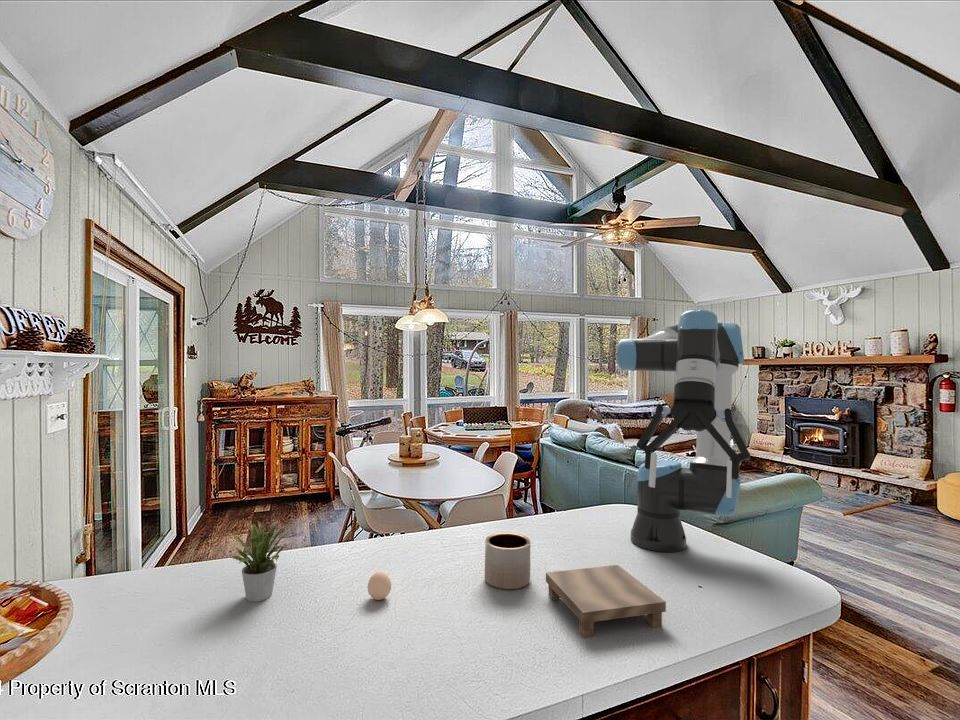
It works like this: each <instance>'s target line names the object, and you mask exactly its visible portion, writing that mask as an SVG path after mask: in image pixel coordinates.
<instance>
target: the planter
mask: <svg viewBox="0 0 960 720" xmlns="http://www.w3.org/2000/svg"><path fill="white" fill-rule="evenodd" d="M484 543H485V545H484V546H485V547H484V552H485V553H484V580H485V582H486V584H488V585H490V586H492V587H493V588H496V589H500V590H504V589H505V590H504V591H507V590H509V591H510V590H511V591H512V590H513V589H514V590H518V589H521V588H523V587H525V586H527V585H528V584H529V583H530V582H531V540H530V538H528V537H527V536H525V535H523V534H519V533H515V532H498V533H494V534H493V533H492V534H491V535H489V536H488V535H487V537H486V538H485V542H484Z"/></svg>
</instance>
